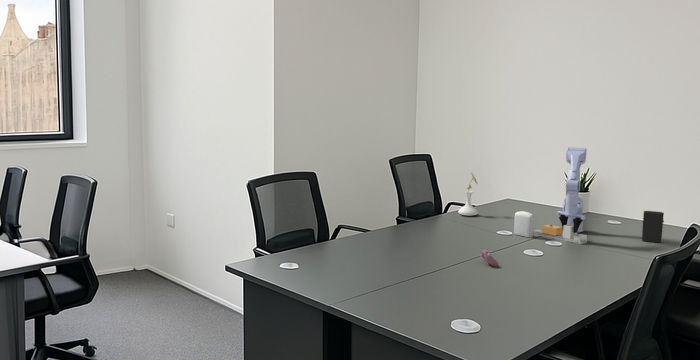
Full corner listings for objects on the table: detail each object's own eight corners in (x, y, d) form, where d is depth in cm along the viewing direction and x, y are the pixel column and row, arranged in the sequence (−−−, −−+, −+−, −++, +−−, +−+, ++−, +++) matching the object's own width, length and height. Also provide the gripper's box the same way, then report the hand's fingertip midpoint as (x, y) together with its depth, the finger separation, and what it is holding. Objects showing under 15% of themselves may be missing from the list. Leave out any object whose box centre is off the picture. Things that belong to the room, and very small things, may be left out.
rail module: (569, 235, 342) (570, 223, 341) (576, 237, 339) (577, 225, 338) (562, 237, 339) (563, 225, 338) (570, 238, 336) (570, 226, 335)
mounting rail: (537, 232, 357) (537, 225, 356) (587, 242, 335) (587, 235, 334) (530, 233, 353) (530, 226, 353) (580, 244, 331) (581, 237, 331)
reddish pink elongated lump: (483, 264, 299) (476, 250, 298) (492, 259, 299) (486, 245, 298) (490, 270, 289) (483, 256, 288) (499, 265, 289) (493, 251, 288)
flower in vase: (473, 217, 391) (475, 174, 388) (455, 215, 397) (456, 172, 393) (481, 214, 402) (483, 171, 399) (463, 212, 408) (464, 170, 404)
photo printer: (512, 234, 350) (513, 210, 349) (517, 233, 353) (518, 209, 351) (529, 238, 343) (530, 213, 341) (534, 237, 345) (535, 212, 343)
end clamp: (548, 231, 351) (549, 223, 351) (562, 233, 345) (563, 225, 345) (541, 232, 347) (542, 224, 347) (555, 235, 341) (556, 227, 341)
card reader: (661, 241, 339) (664, 211, 337) (661, 243, 335) (664, 213, 333) (641, 239, 343) (644, 210, 340) (641, 241, 339) (643, 211, 337)
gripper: (554, 203, 339) (552, 230, 341) (580, 207, 328) (578, 235, 330) (562, 201, 344) (560, 228, 346) (588, 205, 333) (586, 233, 335)
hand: (570, 231), depth 338 cm, fingers open, 5 cm apart
